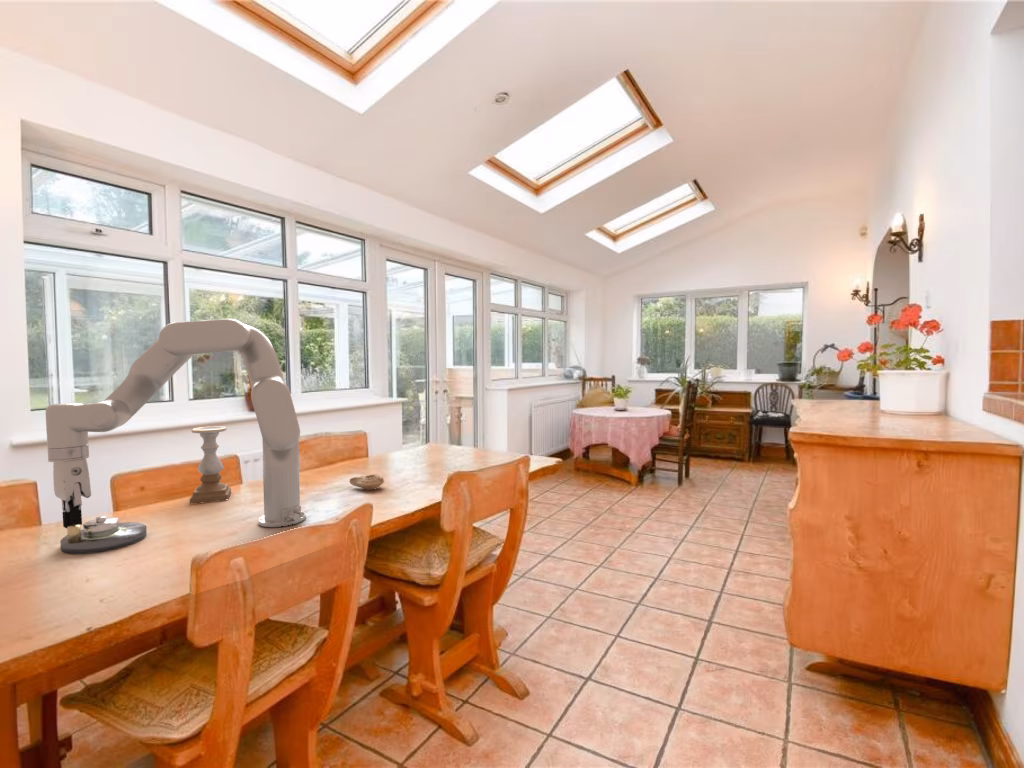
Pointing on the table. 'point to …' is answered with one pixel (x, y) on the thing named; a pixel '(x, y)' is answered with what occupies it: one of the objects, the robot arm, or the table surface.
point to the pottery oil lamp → (367, 481)
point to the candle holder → (210, 468)
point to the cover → (100, 527)
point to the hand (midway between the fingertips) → (72, 526)
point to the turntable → (101, 539)
